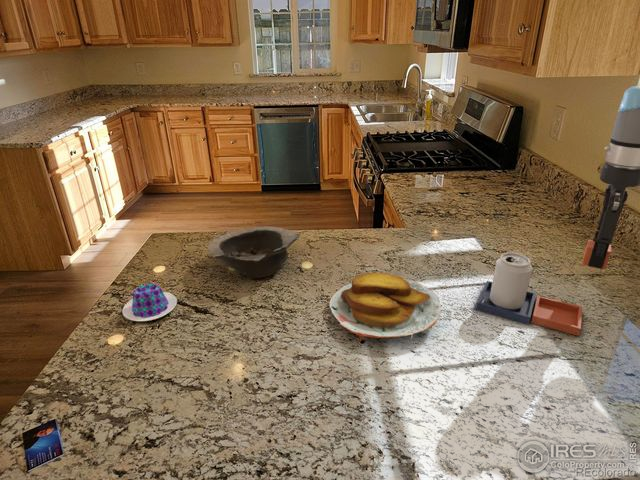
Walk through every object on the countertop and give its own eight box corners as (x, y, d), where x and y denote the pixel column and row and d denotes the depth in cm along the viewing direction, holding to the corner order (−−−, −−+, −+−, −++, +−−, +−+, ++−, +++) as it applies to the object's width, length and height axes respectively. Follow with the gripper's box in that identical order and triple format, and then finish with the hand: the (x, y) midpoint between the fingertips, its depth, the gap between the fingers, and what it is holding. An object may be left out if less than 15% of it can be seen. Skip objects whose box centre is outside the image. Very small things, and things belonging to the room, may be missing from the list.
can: (492, 291, 104) (500, 247, 99) (525, 299, 101) (536, 255, 96) (485, 306, 99) (494, 261, 93) (520, 316, 95) (531, 269, 90)
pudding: (175, 290, 107) (172, 272, 104) (179, 316, 96) (175, 297, 94) (123, 300, 103) (119, 281, 100) (122, 329, 93) (117, 309, 90)
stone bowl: (278, 292, 105) (274, 259, 101) (193, 282, 113) (185, 251, 109) (312, 248, 125) (309, 219, 121) (238, 242, 134) (233, 215, 130)
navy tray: (534, 299, 102) (536, 292, 101) (528, 324, 93) (530, 317, 92) (485, 287, 107) (487, 280, 106) (475, 309, 98) (477, 302, 97)
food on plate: (367, 363, 82) (368, 336, 80) (310, 299, 102) (310, 276, 100) (465, 324, 93) (469, 299, 90) (396, 274, 113) (397, 252, 110)
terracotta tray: (580, 313, 96) (582, 306, 96) (578, 336, 89) (581, 328, 89) (535, 302, 101) (537, 295, 100) (531, 322, 94) (532, 315, 93)
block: (605, 261, 100) (611, 244, 98) (605, 269, 96) (611, 251, 94) (583, 256, 102) (588, 239, 100) (582, 264, 99) (587, 247, 97)
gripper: (604, 153, 98) (578, 244, 108) (603, 172, 84) (574, 274, 94) (643, 157, 94) (613, 250, 104) (650, 178, 80) (614, 283, 91)
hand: (595, 261), depth 99 cm, fingers closed on block, 5 cm apart
